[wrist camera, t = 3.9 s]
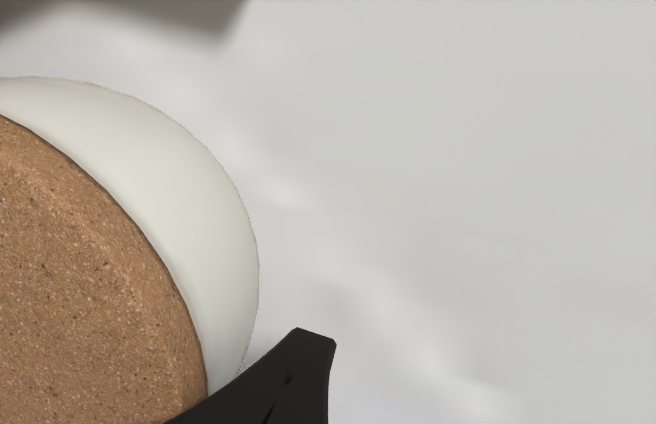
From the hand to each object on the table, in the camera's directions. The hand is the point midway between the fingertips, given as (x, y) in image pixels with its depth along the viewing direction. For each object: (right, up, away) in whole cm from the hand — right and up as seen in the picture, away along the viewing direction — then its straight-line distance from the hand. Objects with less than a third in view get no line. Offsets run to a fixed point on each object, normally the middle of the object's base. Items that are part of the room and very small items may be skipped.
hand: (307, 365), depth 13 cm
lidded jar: (-5, +4, +5) cm, 8 cm away
